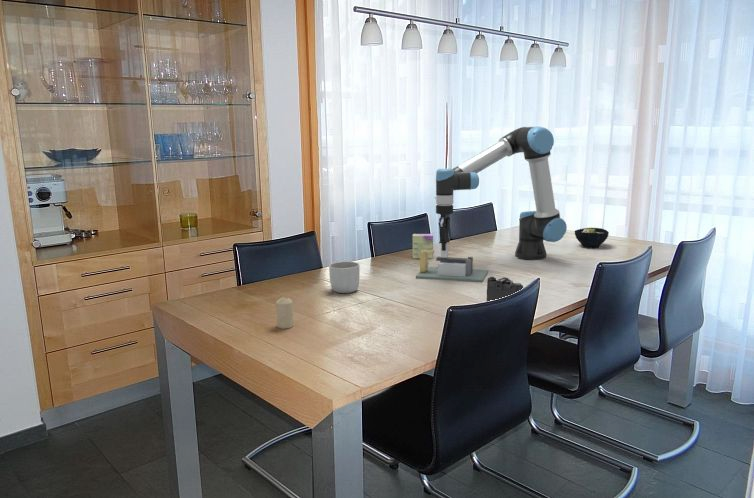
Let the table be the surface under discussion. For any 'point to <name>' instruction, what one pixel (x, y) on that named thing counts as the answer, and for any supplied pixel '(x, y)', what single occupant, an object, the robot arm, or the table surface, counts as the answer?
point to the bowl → (591, 237)
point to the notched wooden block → (424, 259)
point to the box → (422, 244)
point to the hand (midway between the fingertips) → (444, 257)
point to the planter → (344, 276)
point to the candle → (284, 313)
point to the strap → (452, 259)
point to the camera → (501, 288)
